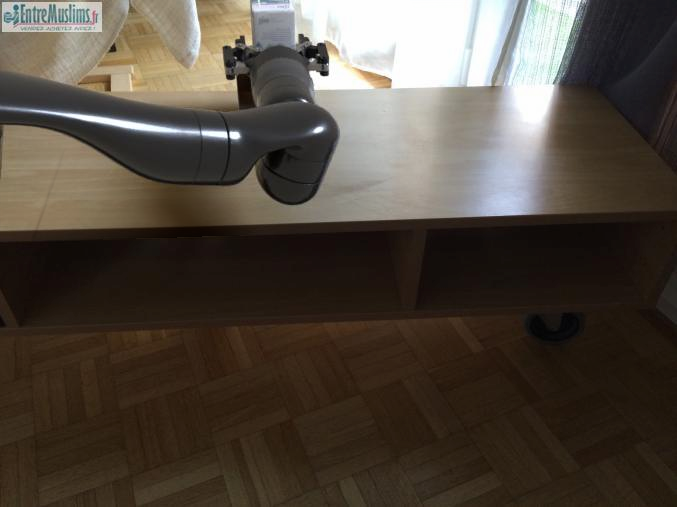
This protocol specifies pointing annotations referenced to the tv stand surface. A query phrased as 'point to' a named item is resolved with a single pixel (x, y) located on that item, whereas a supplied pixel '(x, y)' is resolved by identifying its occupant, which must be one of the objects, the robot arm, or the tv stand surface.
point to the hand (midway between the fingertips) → (271, 41)
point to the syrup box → (272, 23)
